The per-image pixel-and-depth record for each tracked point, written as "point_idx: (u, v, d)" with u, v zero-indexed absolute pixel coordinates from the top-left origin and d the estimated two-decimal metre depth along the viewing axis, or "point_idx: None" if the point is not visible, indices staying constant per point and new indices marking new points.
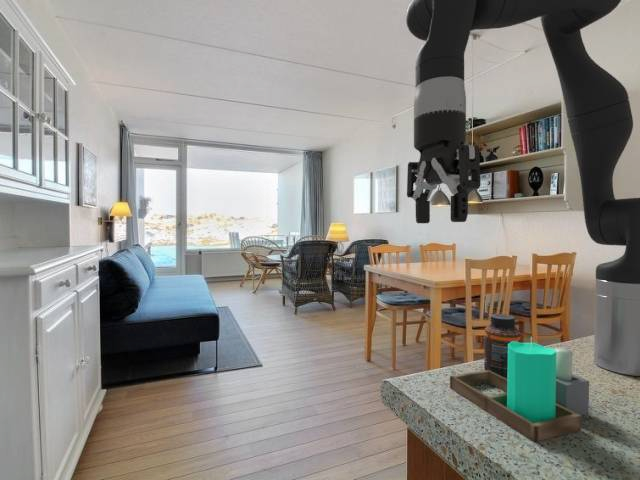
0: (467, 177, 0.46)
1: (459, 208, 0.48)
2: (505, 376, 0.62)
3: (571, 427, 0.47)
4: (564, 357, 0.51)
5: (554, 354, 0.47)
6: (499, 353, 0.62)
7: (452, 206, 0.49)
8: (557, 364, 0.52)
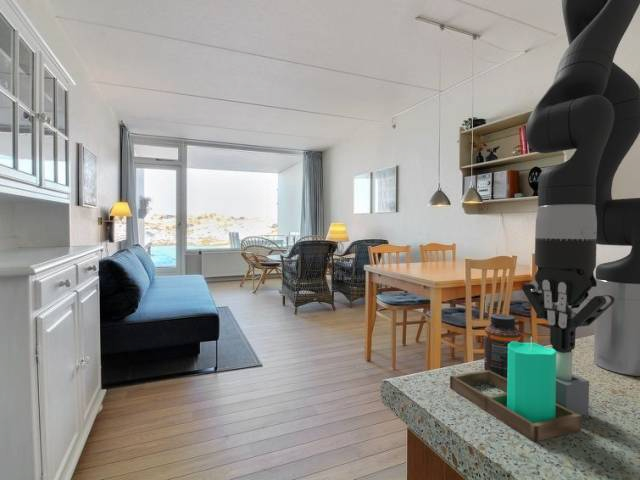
0: (583, 322, 0.49)
1: (567, 341, 0.51)
2: (505, 376, 0.62)
3: (571, 427, 0.47)
4: (564, 357, 0.51)
5: (554, 354, 0.47)
6: (499, 353, 0.62)
7: (559, 338, 0.52)
8: (557, 364, 0.52)
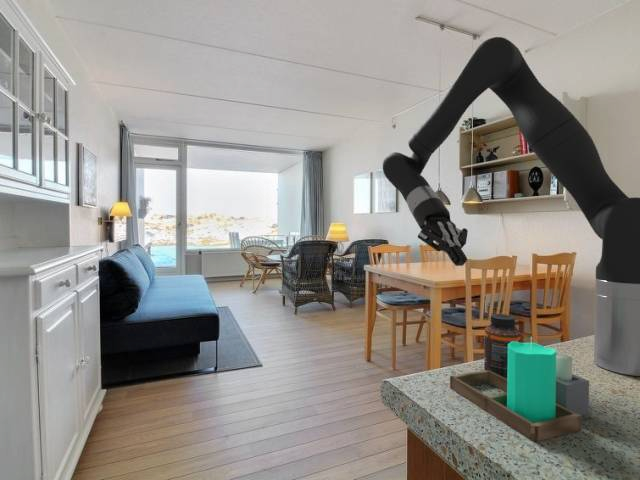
0: (434, 247, 0.76)
1: (450, 258, 0.75)
2: (505, 376, 0.62)
3: (571, 427, 0.47)
4: (564, 363, 0.51)
5: (554, 354, 0.47)
6: (499, 353, 0.62)
7: None
8: (557, 370, 0.52)
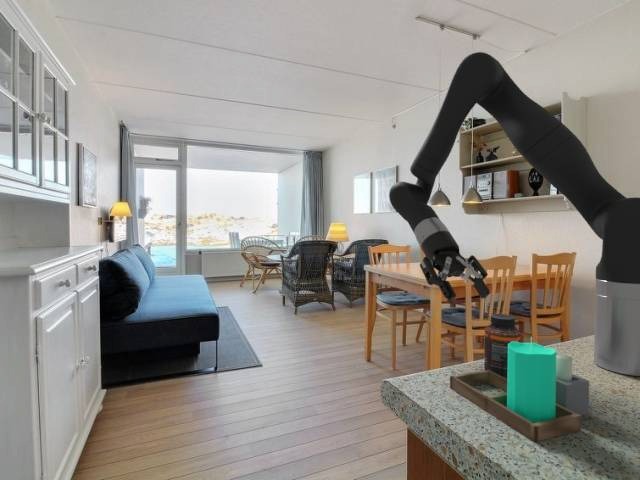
0: (427, 279, 0.74)
1: (443, 293, 0.72)
2: (505, 376, 0.62)
3: (571, 427, 0.47)
4: (564, 363, 0.51)
5: (554, 354, 0.47)
6: (499, 353, 0.62)
7: None
8: (557, 370, 0.52)
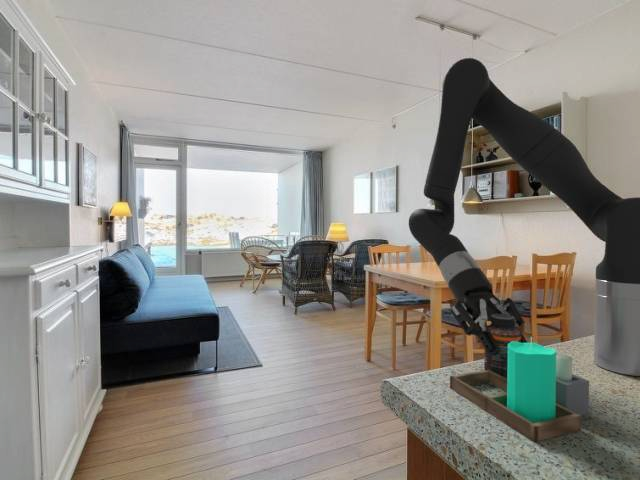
0: (464, 328, 0.65)
1: (484, 346, 0.63)
2: (505, 376, 0.62)
3: (571, 427, 0.47)
4: (564, 363, 0.51)
5: (554, 354, 0.47)
6: (499, 353, 0.62)
7: None
8: (557, 370, 0.52)
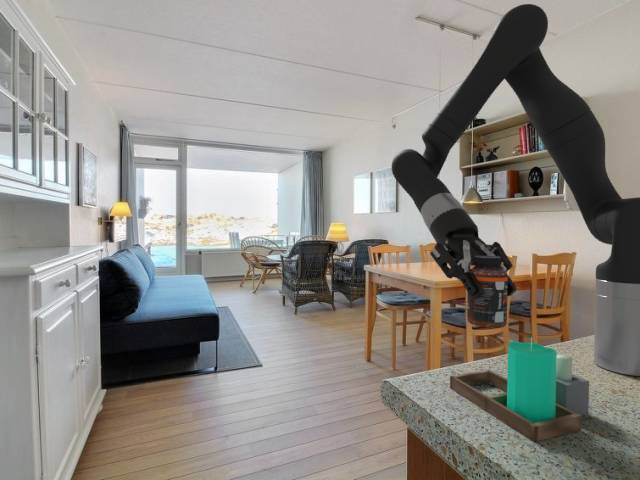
0: (444, 271, 0.58)
1: (466, 289, 0.56)
2: (489, 321, 0.54)
3: (571, 427, 0.47)
4: (564, 363, 0.51)
5: (554, 354, 0.47)
6: (482, 295, 0.55)
7: None
8: (557, 370, 0.52)
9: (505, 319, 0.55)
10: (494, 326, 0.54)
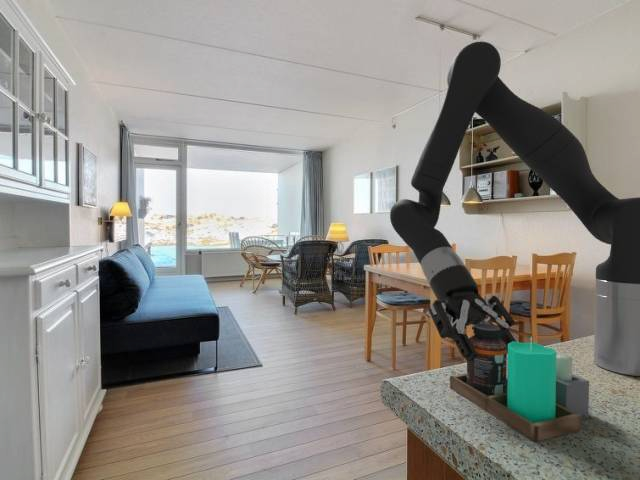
0: (438, 330, 0.58)
1: (459, 350, 0.56)
2: (489, 394, 0.55)
3: (571, 427, 0.47)
4: (564, 363, 0.51)
5: (554, 354, 0.47)
6: (482, 368, 0.55)
7: None
8: (557, 370, 0.52)
9: (504, 391, 0.55)
10: None
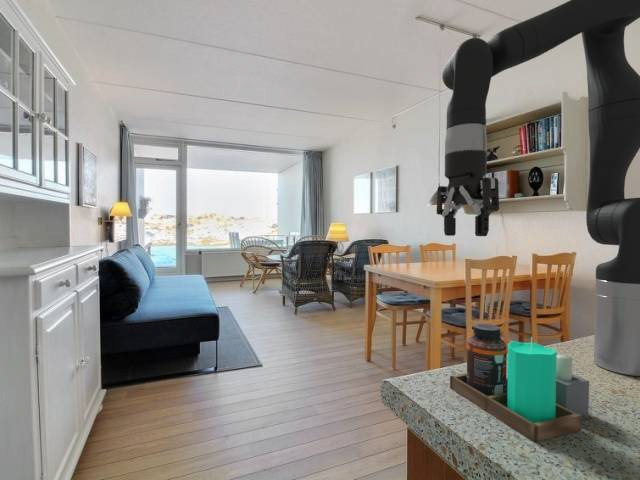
0: (489, 202, 0.60)
1: (482, 226, 0.62)
2: (489, 394, 0.55)
3: (571, 427, 0.47)
4: (564, 363, 0.51)
5: (554, 354, 0.47)
6: (482, 368, 0.55)
7: (476, 224, 0.63)
8: (557, 370, 0.52)
9: (504, 391, 0.55)
10: None
